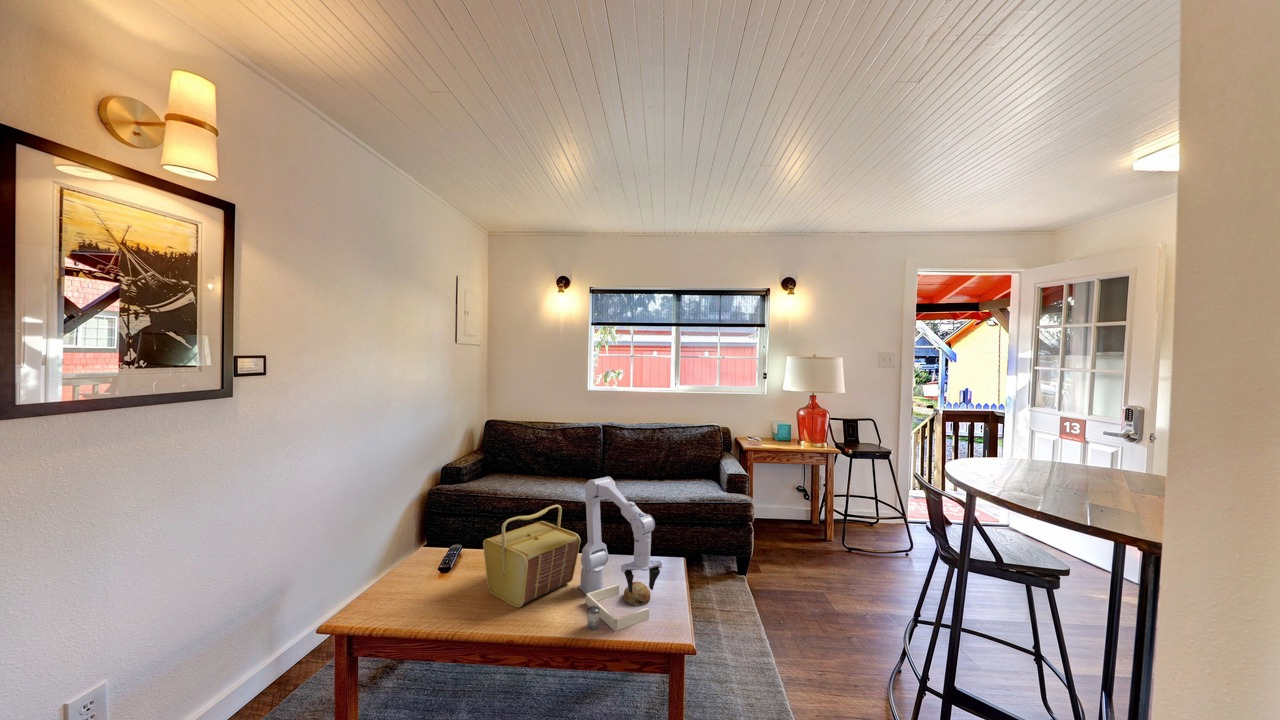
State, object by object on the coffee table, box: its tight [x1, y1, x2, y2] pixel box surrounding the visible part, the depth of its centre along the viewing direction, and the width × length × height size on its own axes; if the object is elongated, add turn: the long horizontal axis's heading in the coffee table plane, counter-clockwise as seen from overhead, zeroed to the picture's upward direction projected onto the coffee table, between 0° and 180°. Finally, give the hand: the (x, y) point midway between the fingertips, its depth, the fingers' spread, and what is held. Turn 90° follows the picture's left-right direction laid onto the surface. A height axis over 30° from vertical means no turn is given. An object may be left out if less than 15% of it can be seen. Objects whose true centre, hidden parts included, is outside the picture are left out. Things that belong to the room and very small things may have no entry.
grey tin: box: [586, 606, 600, 632], centre depth 152 cm, size 4×4×6 cm
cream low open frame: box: [585, 583, 650, 632], centre depth 163 cm, size 20×14×4 cm
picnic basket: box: [482, 504, 581, 609], centre depth 176 cm, size 29×26×30 cm
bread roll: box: [623, 581, 651, 607], centre depth 171 cm, size 10×10×8 cm
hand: (640, 589), depth 159 cm, fingers open, 7 cm apart
